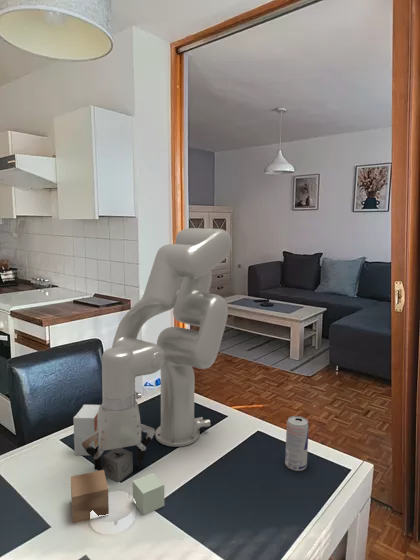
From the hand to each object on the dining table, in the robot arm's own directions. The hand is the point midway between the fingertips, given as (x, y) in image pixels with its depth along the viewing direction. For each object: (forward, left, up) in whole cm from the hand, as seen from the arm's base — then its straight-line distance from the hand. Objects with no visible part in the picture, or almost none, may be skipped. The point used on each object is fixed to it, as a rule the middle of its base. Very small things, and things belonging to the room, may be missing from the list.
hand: (119, 467), depth 97 cm
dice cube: (0, 0, -2) cm, 2 cm away
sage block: (-4, +13, -2) cm, 14 cm away
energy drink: (-42, +12, -2) cm, 44 cm away
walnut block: (+8, +10, -2) cm, 13 cm away
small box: (+6, -14, -2) cm, 15 cm away
